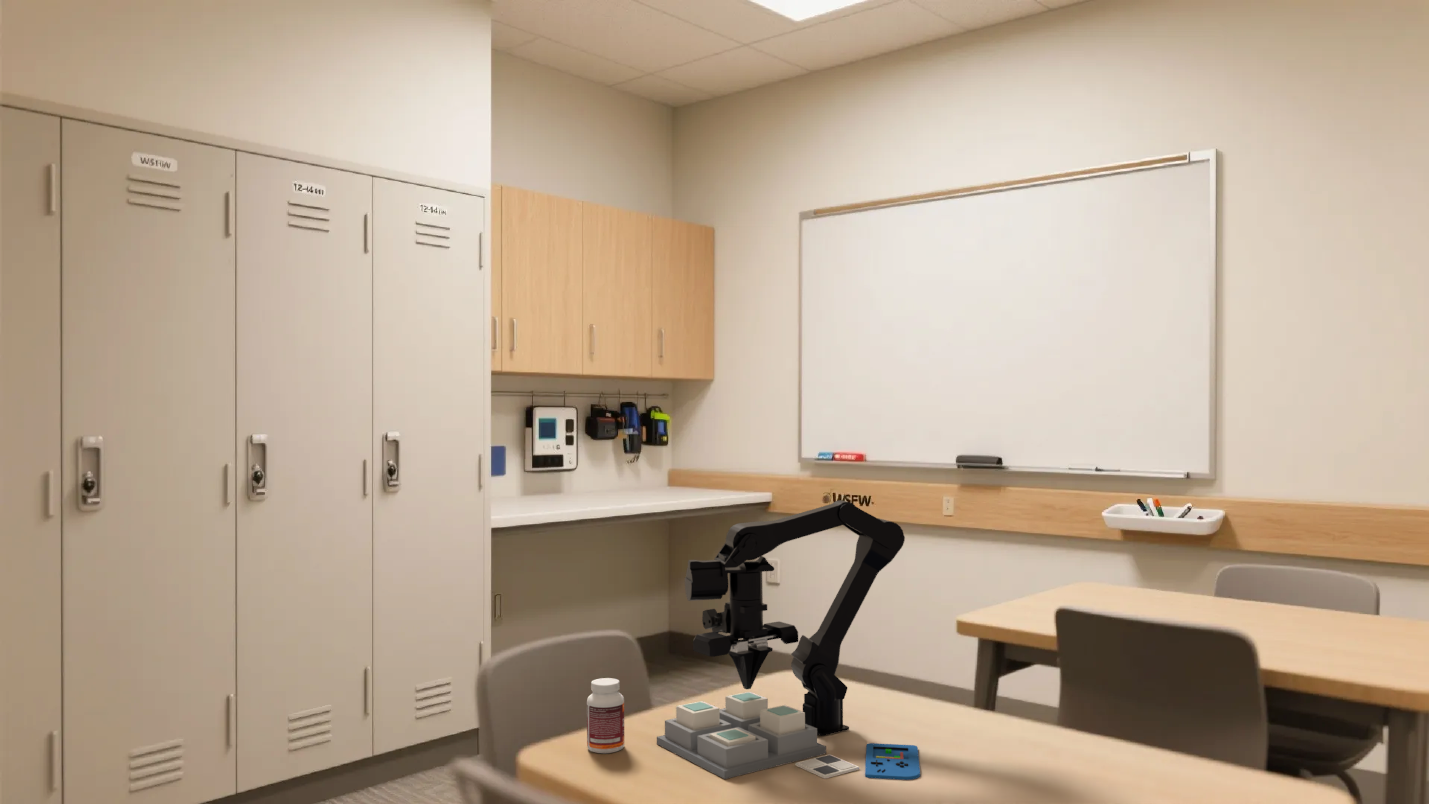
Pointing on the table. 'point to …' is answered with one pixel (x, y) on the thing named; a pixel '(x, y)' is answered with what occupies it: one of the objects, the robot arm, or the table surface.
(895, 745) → the handheld gaming device
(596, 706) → the pill bottle
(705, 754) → the console
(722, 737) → the button
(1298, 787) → the table surface
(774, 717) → the button
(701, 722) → the button
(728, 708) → the button
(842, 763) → the card
